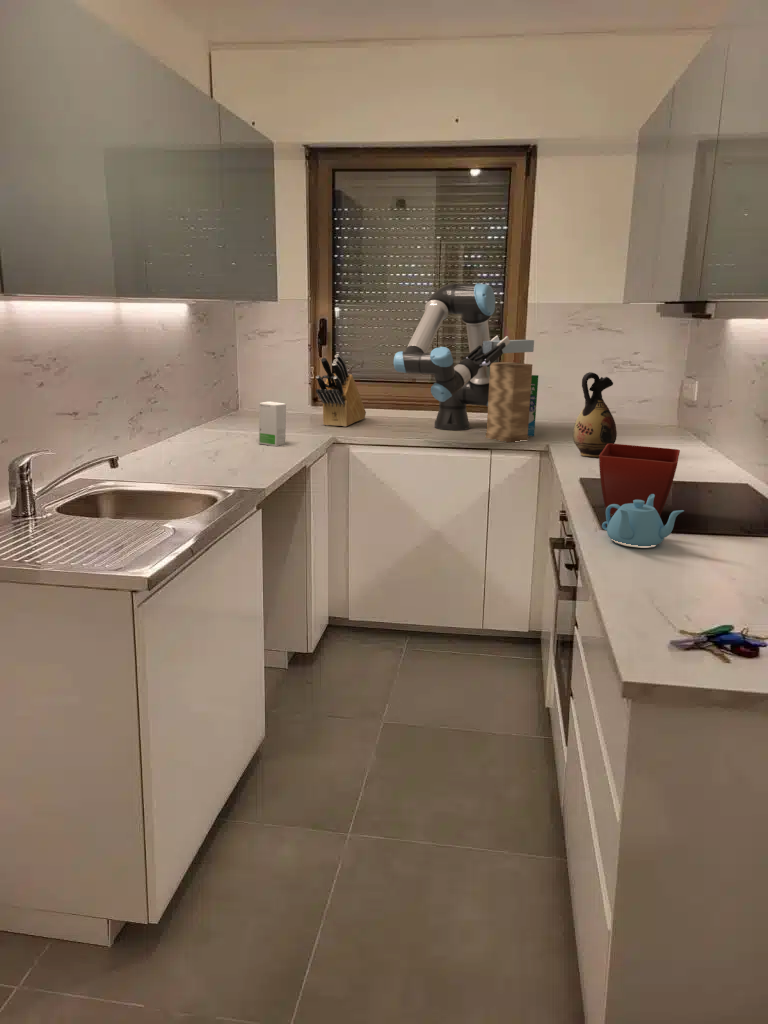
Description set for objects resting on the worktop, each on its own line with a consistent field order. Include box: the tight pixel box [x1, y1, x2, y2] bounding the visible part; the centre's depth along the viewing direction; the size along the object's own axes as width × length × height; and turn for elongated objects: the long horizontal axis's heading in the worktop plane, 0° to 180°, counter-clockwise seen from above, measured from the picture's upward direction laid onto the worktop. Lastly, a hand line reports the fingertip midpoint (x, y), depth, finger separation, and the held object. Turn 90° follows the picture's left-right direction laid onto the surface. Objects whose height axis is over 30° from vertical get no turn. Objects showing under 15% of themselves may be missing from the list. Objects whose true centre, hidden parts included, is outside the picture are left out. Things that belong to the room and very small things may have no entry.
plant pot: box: [598, 443, 681, 517], centre depth 212 cm, size 19×19×17 cm
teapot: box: [601, 494, 685, 546], centre depth 188 cm, size 15×15×10 cm
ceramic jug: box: [572, 371, 618, 458], centre depth 289 cm, size 17×15×30 cm
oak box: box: [485, 361, 533, 443], centre depth 318 cm, size 13×10×30 cm
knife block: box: [315, 353, 367, 428], centre depth 347 cm, size 11×35×31 cm, turn 162°
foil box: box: [483, 339, 535, 354], centre depth 311 cm, size 5×24×5 cm, turn 129°
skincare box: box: [258, 400, 287, 447], centre depth 300 cm, size 8×7×16 cm
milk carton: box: [528, 374, 539, 437], centre depth 332 cm, size 9×9×25 cm
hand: (503, 339), depth 308 cm, fingers closed on foil box, 4 cm apart
